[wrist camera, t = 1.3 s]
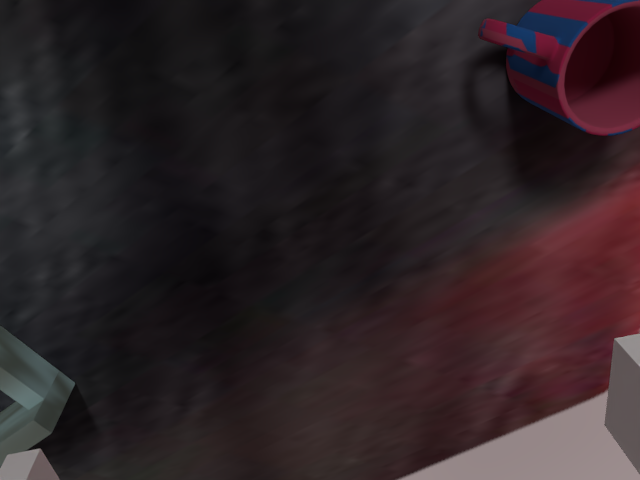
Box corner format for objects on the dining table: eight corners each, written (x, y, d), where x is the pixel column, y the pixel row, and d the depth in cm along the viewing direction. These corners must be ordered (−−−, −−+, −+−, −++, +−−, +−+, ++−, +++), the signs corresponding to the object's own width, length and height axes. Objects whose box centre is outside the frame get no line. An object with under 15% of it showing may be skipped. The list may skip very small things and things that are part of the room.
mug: (572, 121, 35) (635, 153, 29) (439, 63, 33) (477, 85, 27) (635, 18, 32) (718, 30, 26) (494, -53, 30) (550, -58, 24)
